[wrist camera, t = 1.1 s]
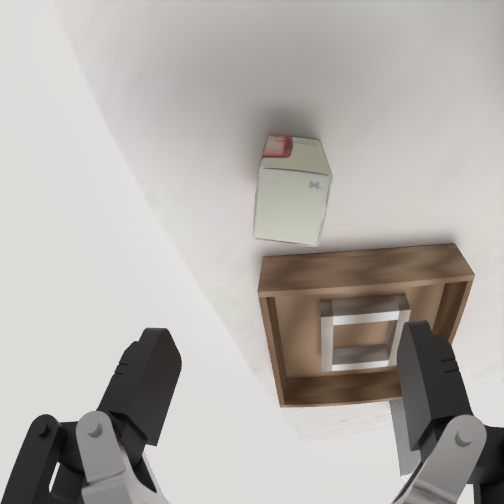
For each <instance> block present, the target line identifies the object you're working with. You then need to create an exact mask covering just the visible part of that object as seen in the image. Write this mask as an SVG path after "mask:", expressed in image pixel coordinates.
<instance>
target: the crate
mask: <svg viewBox="0 0 504 504" xmlns="http://www.w3.org/2000/svg"><path fill="white" fill-rule="evenodd" d="M474 276H475V274H474V272H473V271H472V269H471V268H470V266H469V264H468V263H467V261H466V260H465V258H464V257H463V255H462V254H461V252H460V251H459V249H458V248H457V246H456V245H455V244H442V245H429V246H415V247H401V248H387V249H373V250H359V251H345V252H331V253H316V254H302V255H287V256H272V257H263V261H262V268H261V274H260V280H259V287H258V296H259V302H260V307H261V312H262V317H263V322H264V327H265V332H266V337H267V343H268V348H269V353H270V358H271V363H272V368H273V373H274V378H275V383H276V389H277V394H278V399H279V404H280V407H318V406H336V405H349V404H361V403H371V402H380V401H388V400H396V399H403V398H402V392H401V386H400V381H399V376H398V370H397V361H396V358H397V350H398V346H399V342H400V338H401V333H402V329H403V325H404V323H405V322H409V321H418V320H427V321H428V323H429V325H430V328H431V331H432V334H433V335H436V334H442V335H443V336H444V337H445V339H446V340H447V341H448V342H449V343H450V344H452V342H453V339H454V336H455V334H456V331H457V328H458V326H459V323H460V320H461V317H462V314H463V311H464V308H465V305H466V302H467V299H468V296H469V293H470V290H471V286H472V283H473V279H474Z"/></svg>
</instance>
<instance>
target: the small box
mask: <svg viewBox="0 0 504 504" xmlns="http://www.w3.org/2000/svg"><path fill="white" fill-rule="evenodd" d="M331 182H332V173H331V170H330V167H329V164H328V162H327V158H326V156H325V152H324V150H323V147H322V144H321V142H320V141H318V140H312V139H306V138H299V137H289V136H279V135H269V136H268V137H267V141H266V144H265V148H264V152H263V155H262V159H261V163H260V166H259V170H258V177H257V186H256V195H255V207H254V222H253V238H254V239H259V240H265V241H273V242H279V243H286V244H293V245H300V246H309V247H317V246H318V245H319V241H320V237H321V233H322V229H323V224H324V219H325V215H326V210H327V204H328V199H329V193H330V188H331Z"/></svg>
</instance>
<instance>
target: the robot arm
mask: <svg viewBox="0 0 504 504" xmlns="http://www.w3.org/2000/svg"><path fill="white" fill-rule="evenodd" d="M396 361H397V370H398V376H399V381H400V386H401V392H402V398H403V404H404V410H405V416H406V423H407V430H408V438H409V446H410V452H411V451H417V450H420V455H421V460H420V461H419V463H418V464H417V466H416V468H415V469H414V471H413V472H412V474H411V475H410V477H409V479H408V480H407V482H406V483H405V485H404V486H403V488H402V489H401V490H400V492H399V493H398V495H397V496H396V497H395V499H394V500H393V502H392V503H391V504H456V503H457V500H458V498H459V497H460V495H461V493H462V491H463V489H464V487H465V485H466V484H473V489H474V504H504V428H500V427H490V426H486V425H484V424H483V423H482V422H481V421H480V420H479V419H478V418H476V417H475V416H474V415H473V413H472V411H471V407H470V404H469V400H468V397H467V393H466V390H465V386H464V383H463V380H462V377H461V373H460V371H459V367H458V364H457V361H456V360H455V355H454V352H453V349H452V346H451V344H450V343H449V342H448V341H447V340H446V339H445V337H444V336H443V335H442V334H436V335H433V334H432V331H431V328H430V325H429V323H428V321H427V320H418V321H409V322H405V323H404V325H403V329H402V333H401V338H400V342H399V346H398V350H397V358H396ZM181 363H182V361H181V356H180V353H179V351H178V349H177V347H176V345H175V343H174V341H173V339H172V336H171V334H170V332H169V331H168V330H167V329H166V328H146V329H145V330H144V331H143V333H142V336H141V337H140V339H139V342H138V341H134V342H133V343H132V344H131V345H130V346H129V347H128V348H127V349H126V350H125V351H124V353H123V355H122V357H121V360H120V362H119V365H118V366H117V368H116V370H115V374H114V375H113V376H112V378H111V380H110V383H109V385H108V387H107V389H106V391H105V394H104V396H103V398H102V400H101V402H100V404H99V407H98V408H97V410H96V411H92V412H89V413H87V414H85V415H84V416H83V417H82V418H81V419H80V420H79V421H76V422H62V423H59V422H58V421H57V420H56V419H55V418H54V417H53V416H51V415H48V414H44V415H41V416H39V417H37V418H36V419H35V420H34V421H33V422H32V424H31V426H30V428H29V430H28V433H27V435H26V437H25V440H24V442H23V444H22V447H21V449H20V452H19V454H18V457H17V459H16V462H15V465H14V467H13V470H12V472H11V475H10V478H9V481H8V484H7V486H6V489H5V493H4V496H3V498H2V501H1V504H170V503H169V502H168V501H167V499H166V498H165V497H164V495H163V494H162V492H161V490H160V487H159V485H158V483H157V481H156V479H155V476H154V474H153V472H152V469H151V467H150V465H149V462H148V461H147V458H146V455H145V453H144V452H143V450H144V447H145V444H148V445H153V446H157V443H158V440H159V437H160V433H161V430H162V427H163V424H164V421H165V418H166V415H167V412H168V408H169V405H170V402H171V399H172V396H173V393H174V390H175V386H176V384H177V381H178V378H179V375H180V372H181V366H182V364H181ZM57 462H58V463H60V466H59V469H58V472H57V475H56V478H55V481H54V484H53V487H52V490H51V492H49V484H50V481H51V478H52V475H53V472H54V469H55V466H56V464H57Z"/></svg>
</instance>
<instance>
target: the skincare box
mask: <svg viewBox="0 0 504 504" xmlns="http://www.w3.org/2000/svg"><path fill="white" fill-rule="evenodd" d="M389 403H390V408H391V414H392V420H393V426H394V432H395V437H396V444H397V451H398V458H399V466H400V476H401V478H402V479H403V481H404V482H405V483H406V482H407V480H408V479H409V477H410V475H411V474H412V472H413V471H414V469H415V468H416V466H417V464H418V463H419V461H420V460H421V455H420V450H417V451H411V452H410V446H409V438H408V430H407V423H406V416H405V410H404V404H403V399H396V400H389Z"/></svg>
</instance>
